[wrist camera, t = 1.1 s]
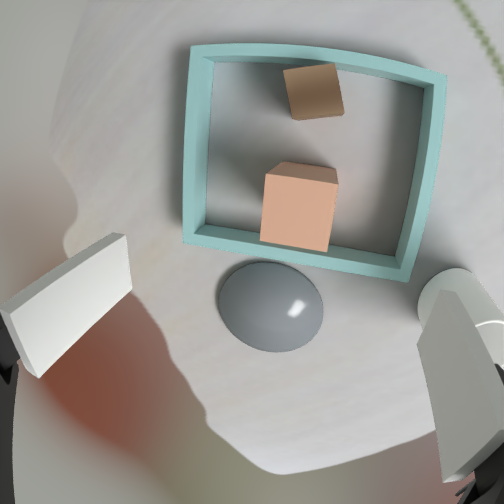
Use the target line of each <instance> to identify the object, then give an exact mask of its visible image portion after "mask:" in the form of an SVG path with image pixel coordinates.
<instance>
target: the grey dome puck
mask: <svg viewBox="0 0 504 504" xmlns="http://www.w3.org/2000/svg"><path fill="white" fill-rule="evenodd" d="M219 310H220V314H221V317H222V319H223V321H224V323H225V325H226V326H227V328H228V329H229V330H230V332H231V333H232V334H233V335H234V336H235V337H236V338H238V339H239V340H240V341H242V342H243V343H245V344H247V345H249V346H251V347H253V348H256V349H259V350H262V351H267V352H287V351H291V350H295V349H297V348H300V347H302V346H304V345H305V344H307V343H308V342H309V341H311V340H312V339H313V338H314V336H315V335H316V334H317V332H318V330H319V329H320V326H321V323H322V318H323V304H322V300H321V297H320V294H319V292H318V290H317V289H316V287H315V286H314V284H313V283H312V282H311V281H310V280H309V279H308V278H307V277H306V276H305V275H303V274H302V273H300V272H299V271H297V270H295V269H293V268H291V267H289V266H286V265H283V264H279V263H273V262H258V263H253V264H249V265H246V266H244V267H241V268H240V269H238V270H236V271H235V272H234V273H233V274H232V275H231V276H230V277H229V278H228V279H227V281H226V282H225V284H224V285H223V287H222V289H221V292H220V296H219Z"/></svg>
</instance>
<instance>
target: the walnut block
mask: <svg viewBox="0 0 504 504" xmlns="http://www.w3.org/2000/svg"><path fill="white" fill-rule="evenodd" d="M283 74H284V79H285V83H286V89H287V94H288V99H289V104H290V109H291V115H292V119H295V120H298V121H299V120H307V119H315V118H324V117H334V116H342V115H343V114H344V107H343V102H342V96H341V91H340V86H339V81H338V76H337V71H336V67H335V63H334V64H324V65H315V66H308V67H300V68H294V69H287V70H283Z"/></svg>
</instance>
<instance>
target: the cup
mask: <svg viewBox="0 0 504 504" xmlns="http://www.w3.org/2000/svg"><path fill="white" fill-rule="evenodd" d="M440 289H442V290H448V291H454V292H456V293H457V295H458V297H459V298H460V300H461V302H462V303H463V305H464V307H465V309H466V310H467V312H468V314H469V316H470V317H471V319H472V321H473V323H474V325H475V327H476V328H477V330H478V332H479V334H480V336H481V338H482V340H483V342H484V344H485V346H486V348H487V350H488V352H489V354H490V356H491V358H492V360H493V362H494V364H498V365H499V366H500V367H501V368H502V367H503V366H504V315H503V313H502V312H501V310H500V309H499V307H498V306H497V304H496V303H495V302H494V300H493V299H492V297H491V296H490V295H489V293H488V292H487V291H486V289H485V288H484V287H483V285H482V284H481V283H480V281H479V280H478V279H477V278H476V277H475V276H474V275H473V274H472V273H471V272H469V271H467V270H465V269H460V268H452V269H448V270H445V271H442V272H440V273H439V274H437V275H435V276H434V277H433V278H432V279H431V280H430V281H429V282H428V283H427V284H426V285H425V287H424V288H423V290H422V292H421V294H420V297H419V300H418V308H417V309H418V317H419V320H420V323H421V326H422V329H423V330H424V327H425V325H426V323H427V320H428V318H429V316H430V313H431V311H432V308H433V306H434V304H435V301H436V298H437V296H438V293H439V291H440Z"/></svg>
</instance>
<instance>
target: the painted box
mask: <svg viewBox="0 0 504 504" xmlns="http://www.w3.org/2000/svg"><path fill="white" fill-rule="evenodd" d="M337 191H338V179H337V173H336V169H332V168H326V167H320V166H313V165H306V164H299V163H292V162H284V161H283V162H281V163H280V164H278V165H277V166H276V167H274V168H273V169H272V170H270V171H269V172H267V173H266V176H265V187H264V198H263V209H262V220H261V231H260V241H264V242H270V243H276V244H282V245H288V246H293V247H299V248H305V249H311V250H317V251H322V252H327V249H328V244H329V238H330V233H331V227H332V221H333V216H334V210H335V204H336V197H337Z"/></svg>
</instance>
